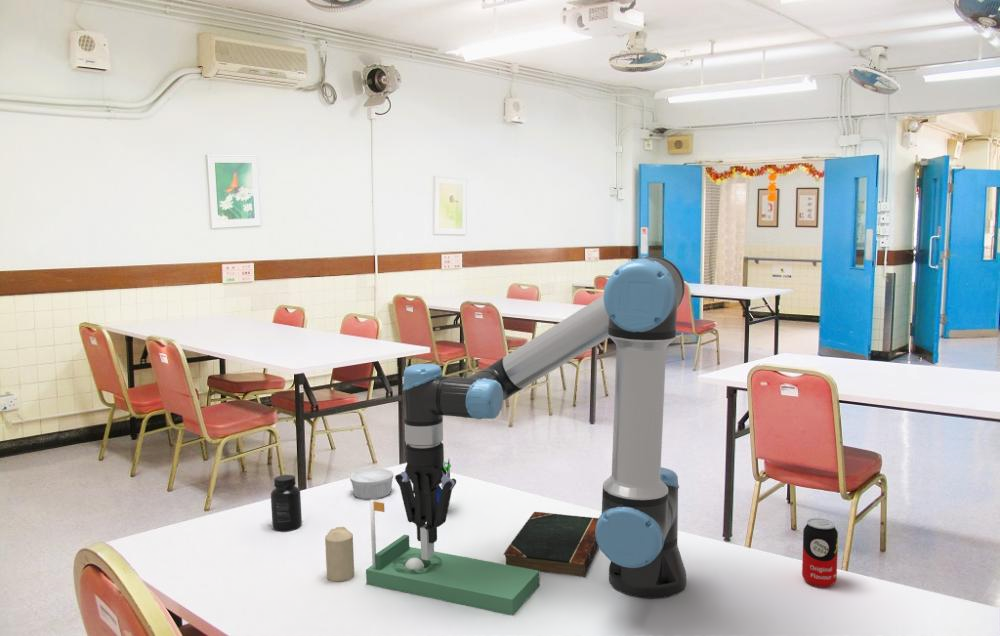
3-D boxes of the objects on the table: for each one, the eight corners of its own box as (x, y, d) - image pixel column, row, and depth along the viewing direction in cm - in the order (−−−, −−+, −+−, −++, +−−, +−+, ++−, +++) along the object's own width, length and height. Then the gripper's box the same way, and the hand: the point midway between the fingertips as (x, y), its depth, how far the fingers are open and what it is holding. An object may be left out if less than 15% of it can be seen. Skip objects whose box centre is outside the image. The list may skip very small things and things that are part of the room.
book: (533, 525, 190) (502, 570, 166) (533, 511, 190) (502, 553, 166) (606, 533, 185) (585, 580, 161) (606, 518, 184) (585, 563, 161)
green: (539, 585, 158) (538, 502, 156) (512, 615, 146) (510, 525, 144) (401, 558, 172) (398, 481, 169) (366, 583, 160) (363, 502, 158)
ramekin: (345, 500, 208) (344, 480, 207) (359, 486, 219) (358, 467, 218) (386, 502, 206) (385, 482, 206) (398, 487, 217) (398, 468, 216)
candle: (348, 583, 161) (346, 535, 159) (322, 580, 162) (320, 533, 160) (358, 571, 166) (356, 524, 165) (333, 569, 167) (331, 523, 166)
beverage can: (794, 578, 159) (796, 520, 158) (819, 572, 162) (821, 515, 160) (818, 591, 153) (821, 531, 152) (843, 585, 156) (845, 526, 154)
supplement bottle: (308, 524, 192) (305, 475, 190) (286, 534, 186) (283, 484, 185) (288, 518, 196) (285, 471, 194) (266, 528, 190) (263, 479, 188)
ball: (415, 550, 164) (407, 565, 165) (405, 558, 160) (397, 573, 162) (430, 562, 163) (422, 577, 164) (420, 570, 159) (412, 585, 160)
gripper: (462, 441, 158) (465, 555, 161) (406, 434, 164) (409, 544, 167) (444, 451, 152) (447, 570, 155) (385, 444, 157) (390, 559, 160)
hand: (427, 556), depth 161 cm, fingers closed
